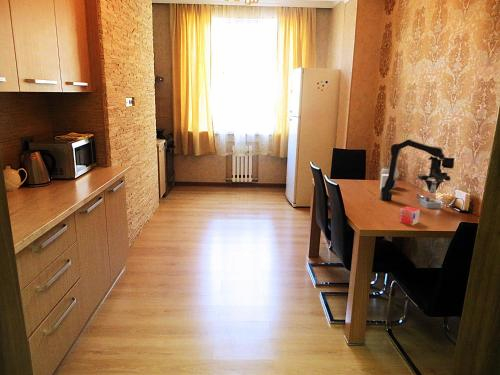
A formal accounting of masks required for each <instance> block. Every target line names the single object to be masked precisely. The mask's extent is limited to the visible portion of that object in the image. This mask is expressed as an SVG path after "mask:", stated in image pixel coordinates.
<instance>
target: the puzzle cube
mask: <svg viewBox="0 0 500 375" xmlns="http://www.w3.org/2000/svg"><path fill="white" fill-rule="evenodd" d="M420 211H421V208H415V207H412V206H404V207H401V208H399V216H398V223H402V224H406V225H409V226H413V225H416V224H418V223H419V219H420Z"/></svg>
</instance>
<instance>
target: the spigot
mask: <svg viewBox="0 0 500 375" xmlns="http://www.w3.org/2000/svg"><path fill="white" fill-rule="evenodd" d="M437 182H438V181H435V179H431V184H430V190H428V193H429V194H436V192H437V190H436V185H437Z"/></svg>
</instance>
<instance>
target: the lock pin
mask: <svg viewBox="0 0 500 375" xmlns="http://www.w3.org/2000/svg"><path fill="white" fill-rule="evenodd" d="M419 196H422V197H424V196H425V195H422V193H421V192H416V195H415V198H417V199H418V198H419ZM424 199H426V200H427V198H426V197H424Z"/></svg>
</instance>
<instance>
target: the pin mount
mask: <svg viewBox="0 0 500 375" xmlns="http://www.w3.org/2000/svg"><path fill="white" fill-rule="evenodd" d="M422 196H424V197H426V198H427V201H428V199H431V197H430V196H427V195H422ZM422 196H419V198H417V199H418V200H417V202H419V203H420V199H424V197H422Z"/></svg>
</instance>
